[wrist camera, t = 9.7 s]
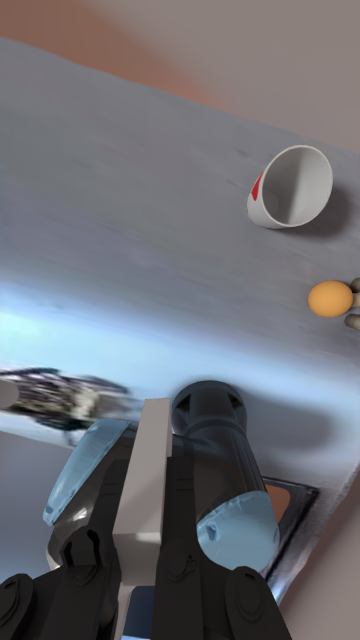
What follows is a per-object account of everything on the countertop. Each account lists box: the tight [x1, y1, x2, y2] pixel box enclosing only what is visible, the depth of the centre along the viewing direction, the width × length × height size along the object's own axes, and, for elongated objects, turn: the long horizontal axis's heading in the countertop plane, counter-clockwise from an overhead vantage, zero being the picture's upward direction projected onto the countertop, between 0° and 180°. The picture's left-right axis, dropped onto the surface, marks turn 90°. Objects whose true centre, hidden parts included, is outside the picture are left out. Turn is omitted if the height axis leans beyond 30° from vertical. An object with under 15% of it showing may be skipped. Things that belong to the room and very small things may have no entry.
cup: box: [247, 145, 333, 229], centre depth 29 cm, size 8×8×10 cm
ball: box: [308, 281, 353, 318], centre depth 35 cm, size 6×6×6 cm
